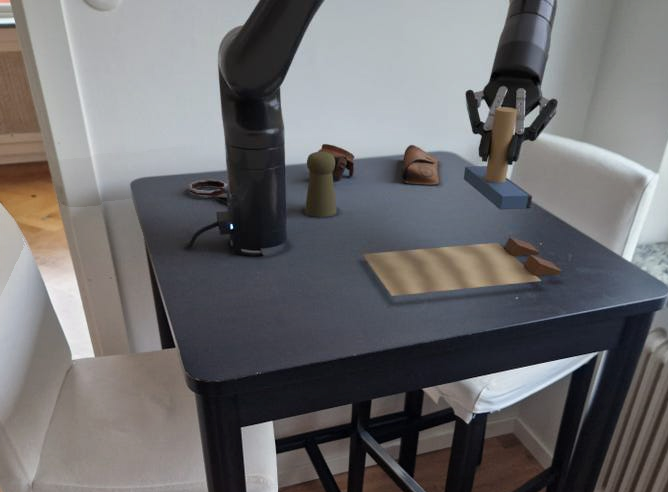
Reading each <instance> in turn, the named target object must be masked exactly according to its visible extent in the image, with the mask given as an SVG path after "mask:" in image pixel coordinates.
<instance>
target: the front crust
mask: <svg viewBox="0 0 668 492" xmlns="http://www.w3.org/2000/svg"><path fill="white" fill-rule="evenodd" d="M523 265H524V266H525V267H526V268H527V269H528V270H529V271H530V272H531V273H532V274H534V275H535V276H537V277H539V276H549V275H550V276H551V275H560V274H562V272H563V270H561V269H560V268H559V267H558V266H557V265H555V264H554V263H553V261H550V260H547V259H544V258H541V257H539V256H537V255H528V257H527V259H526V261H525V263H524V264H523Z"/></svg>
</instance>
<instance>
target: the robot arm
mask: <svg viewBox="0 0 668 492" xmlns="http://www.w3.org/2000/svg"><path fill="white" fill-rule="evenodd" d="M324 2H325V0H258V2H257V3H256V5H255V7H254V8H253V10H252V11H251V13H250V14H249V16H248V17H247V19H246V20H245V22H244V24H242V25H237V26H235V27H233V28H231V29H230V30H228V32H227V33H226V34H225V35H224V36H223V38H222V40H221V41H220V44H219V46H218V51H217V71H218V73H217V74H218V83H219V97H220V98H219V99H220V111H221V121H222V129H223V137H224V150H225V151H224V152H225V166H226V167H225V168H226V179H227V180H226V181H227V182H226V184H227V187H226V192H227V206H226V207H227V210H226V211H225V210H224V211H216V221H215V222H212V223H211V224H207V225H205V226H203V227H202V228H200V229H198V230H197V231H196V232H195V233H194V234H193V235H192V237H191V239H190V240H189V242H188V243H186V249H190V248H191V247H193V246H194V244H195V242H196V240H197V238H198V237H199V236H200V235H202V234H204V233H205V232H207V231H210V230H211V229H215V228H217V229H218V232H219V235H221V236H223V235H228V236H229V242H230V247H231V249H232V252H233V254H234V255H246V256H252V257H264V253H263V251H262V249H271V248H275V247H278V246H280V245H283V244H284V243H286V241H287V239H288V231H287V229H288V227H287V190H286V189H287V188H286V187H287V186H286V183H287V182H286V181H287V180H286V149H285V148H286V143H285V142H286V141H285V140H286V138H285V131H286V130H285V122H284V118H283V110H282V109H283V108H282V98H281V97H282V96H281V95H282V94H281V87H282V85H283V83H284V81H285V79H286V77H287V75H288V72H289V70H290V68H291V66H292V63H293V61H294V59H295V57H296V54H297V52H298V50H299V47H300V46H301V43H302V41H303V39H304V37H305V34H306V32H307V30H308V28H309V26H310V24H311V23H312V20H313V19H314V17H315V15H316V14H317V13H318V11H319V10H320V8H321V6H322V5H323V4H324ZM557 9H558V0H508V9H507V13H506V18H505V20H504V21H505V22H504V25H503V29H502V31H501V33H500V36H499V38H498V42H497V46H496V52H495V55H494V59H493V63H492V69H491V72H490V76H489V80H488V82H487V84H486V85H485V86H484V87H483V89H482V90H479V91H476V92H475V91H474V90H473V89H468V90H466V91H465V105H466V110H467V115H468V118H469V122H470V128H471V132H472V134H474V135H480V136H481V137H480V141H479V145H478V157H479V158H481V162H485V163H488V156H489V149H490V143H491V136H492V129H493V123H494V116H495V109H496V108H498V107H508V108H514V109H516V110H517V115H516V121H515V127H514V133H513V136H512V141H511V145H510V149H509V154H508V159H507V165H508V166H513V163H517V162H518V161H519V158H520V154H521V149H522V145H523V143H524V142H525V141H529V142H534V141H536V140H537V139H538V138H539V136H540V135H541V134H542V132H543V131H544V130H545V128H546V127H547V126H548V125H549V123H550V122H551V120H553V118H554V117H555V115H556V114H557V110H558V103H559V101H558V100H557V99H556V98H551V99H548V98H546V97H544V96H543V92H542V91H543V90H542V84H543V80H544V75H545V71H546V66H547V62H548V60H549V57H550V54H549V53H550V49H551V39H552V31H553V29H554V28H553V27H554V23H555V19H556V14H557ZM483 100H484V102H485V104H486V106H487V107H488V109H489V110H488V114H487V117H486V119H485V122H484V121H482V120H481V117H480V112H479V109H480V107H481V105H482V102H483ZM537 107H539V110H538V115H537V116H536V118H535V119H534V120H533V121H532V123H531V124H529V126H526V127H525V120H526V119H525V118H526V117H527V116H528V115H529V114H530V113H532V112H533V111H534V110H535V109H536V108H537Z"/></svg>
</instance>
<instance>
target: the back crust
mask: <svg viewBox="0 0 668 492" xmlns="http://www.w3.org/2000/svg"><path fill="white" fill-rule="evenodd" d="M503 248H504V249H505V250H506V251H508V252H509V253H510V254H511V255H512V256H513V257H521V256H530V255H533V256H537V255H540V250H538V249H537V248H536V247H535V246H533V244H531V243H530V242H526V241H523V240H520V239H517V238H514V237H511V236H509V237H508V239H507V241H506V242H505V245H504V247H503Z"/></svg>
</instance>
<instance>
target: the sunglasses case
mask: <svg viewBox="0 0 668 492" xmlns="http://www.w3.org/2000/svg"><path fill="white" fill-rule="evenodd" d="M439 163H440V159H439V158H437V157H436V156H434V155H431V154H429V153H428V152H426V151H425V150H424V149H422V148H420V147H418V146H417V145H414V144H410V145H408V146H407V147H406V148H405V151H404V154H403V161H402V168H401V169H402V170H401V178H402V180H403V182H404V184H407V185H408V184H410V185H416V186H435V185H439V184H440V177H439Z"/></svg>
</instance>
